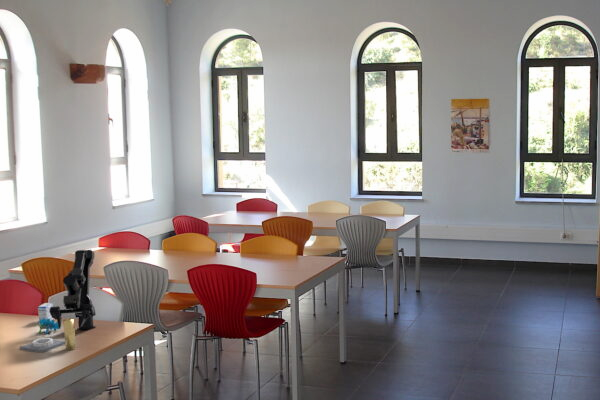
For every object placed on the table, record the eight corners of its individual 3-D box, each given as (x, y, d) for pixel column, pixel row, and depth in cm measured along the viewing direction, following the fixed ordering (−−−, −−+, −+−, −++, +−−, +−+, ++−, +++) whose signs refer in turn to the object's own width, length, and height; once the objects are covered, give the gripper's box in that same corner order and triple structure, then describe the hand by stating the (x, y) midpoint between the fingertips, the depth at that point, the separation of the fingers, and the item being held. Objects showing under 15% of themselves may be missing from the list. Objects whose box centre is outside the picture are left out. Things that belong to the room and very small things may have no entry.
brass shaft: (71, 346, 344) (68, 318, 343) (78, 347, 342) (75, 318, 341) (63, 349, 341) (61, 320, 339) (71, 350, 338) (68, 321, 337)
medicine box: (46, 319, 397) (44, 302, 396) (54, 319, 396) (52, 302, 396) (38, 323, 389) (37, 306, 388) (47, 323, 389) (45, 306, 388)
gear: (64, 326, 374) (52, 316, 367) (60, 337, 370) (47, 327, 363) (47, 328, 378) (34, 318, 371) (42, 339, 375) (29, 329, 368)
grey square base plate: (44, 340, 356) (43, 335, 356) (66, 343, 350) (65, 337, 349) (19, 349, 344) (19, 343, 344) (42, 352, 337) (41, 346, 337)
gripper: (48, 289, 345) (44, 319, 335) (91, 286, 346) (87, 316, 336) (54, 302, 354) (50, 332, 344) (95, 299, 355) (92, 329, 345)
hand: (70, 327), depth 342 cm, fingers open, 9 cm apart
